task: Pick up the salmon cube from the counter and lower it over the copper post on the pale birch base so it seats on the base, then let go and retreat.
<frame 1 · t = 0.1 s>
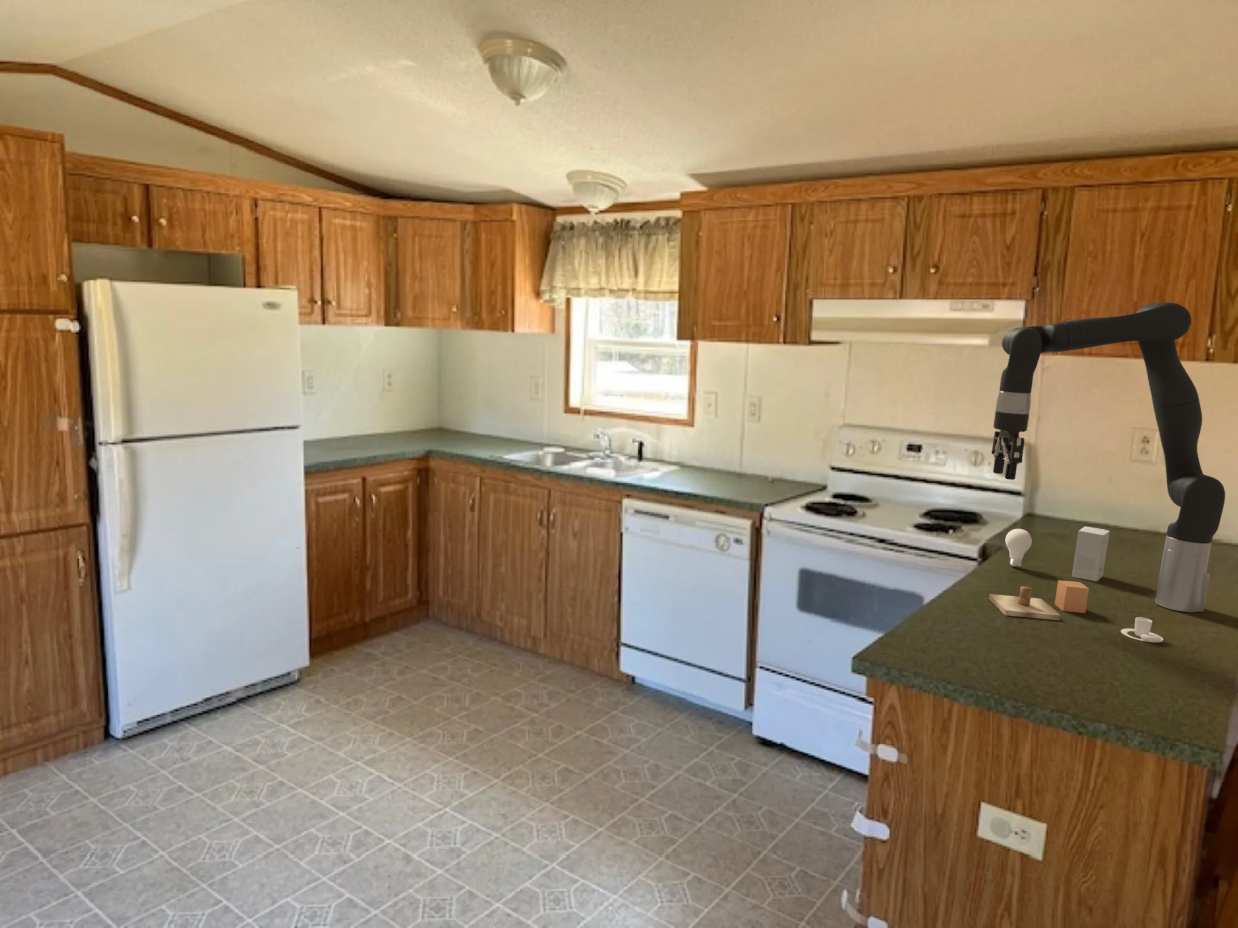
hand: (1003, 476, 206), 29 cm above the worktop, fingers open, 8 cm apart
light bulb: (1014, 567, 234), on the worktop
small box: (1086, 577, 229), on the worktop
white ring and cup: (1131, 639, 182), on the worktop
post base: (1023, 609, 197), on the worktop
salmon cube: (1069, 608, 199), on the worktop
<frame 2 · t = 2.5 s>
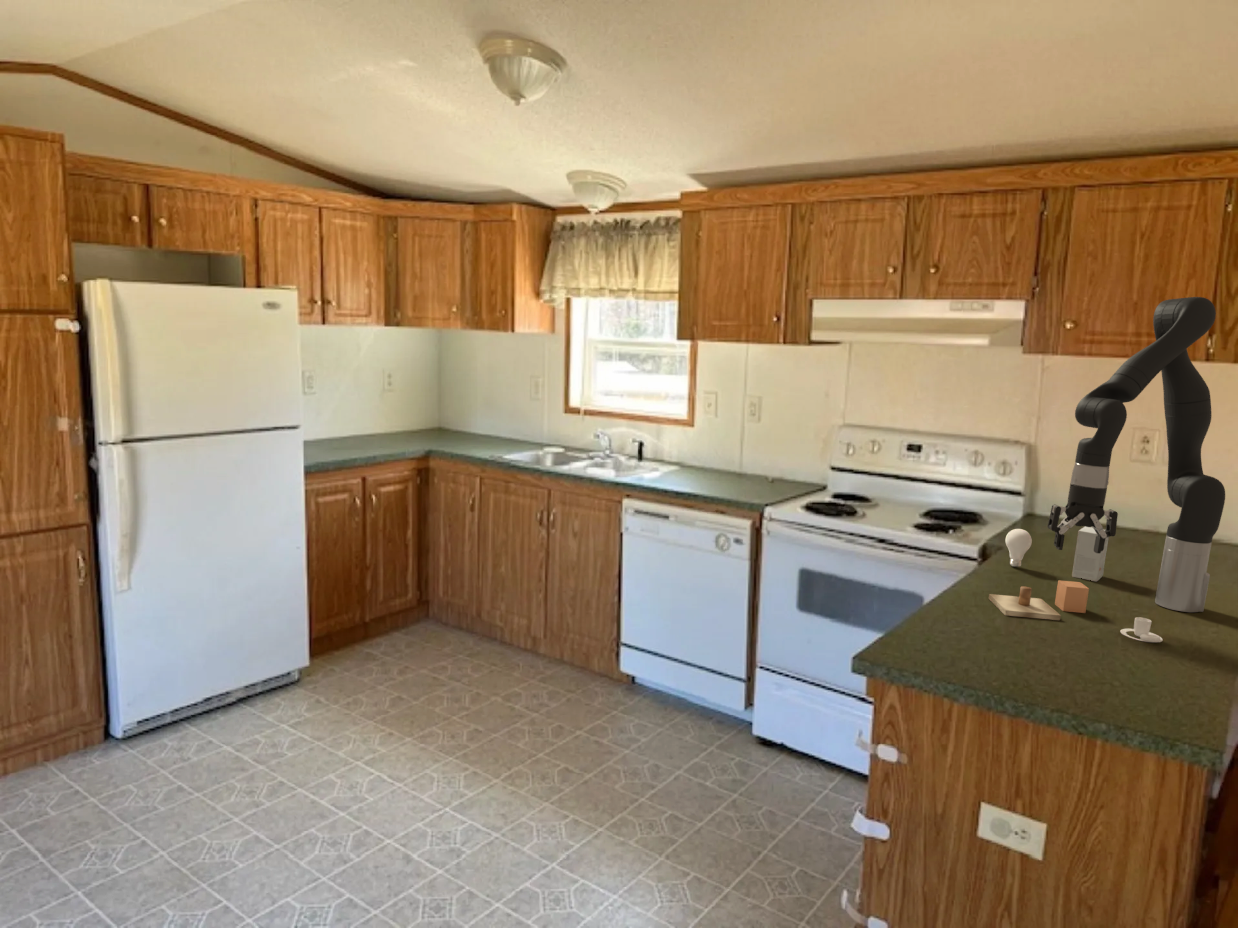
hand: (1077, 550, 197), 14 cm above the worktop, fingers open, 8 cm apart
nothing on the worktop moved.
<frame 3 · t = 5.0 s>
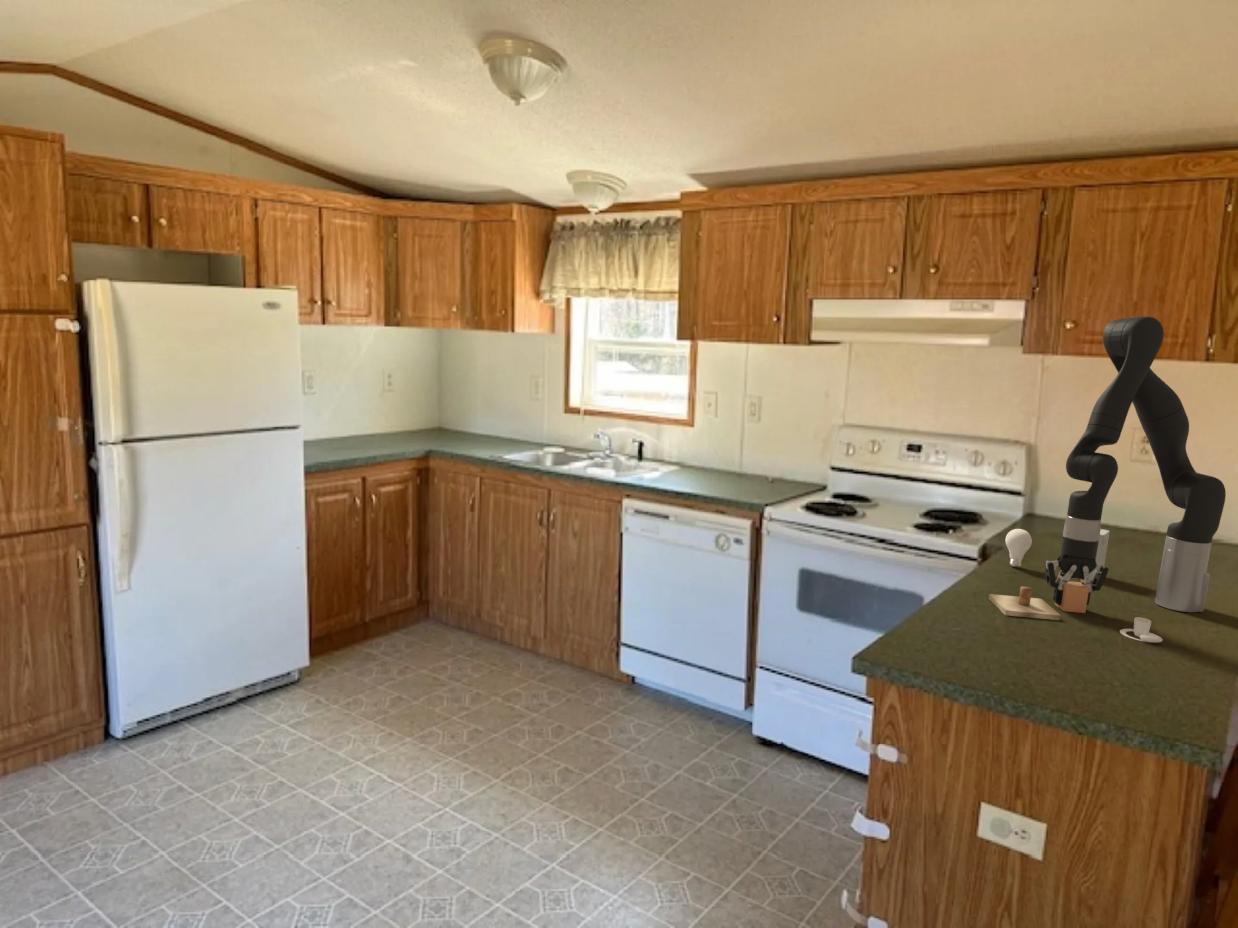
hand: (1070, 604, 199), 1 cm above the worktop, fingers closed on salmon cube, 5 cm apart
salmon cube: (1069, 608, 199), on the worktop, touching gripper
everything else where it was.
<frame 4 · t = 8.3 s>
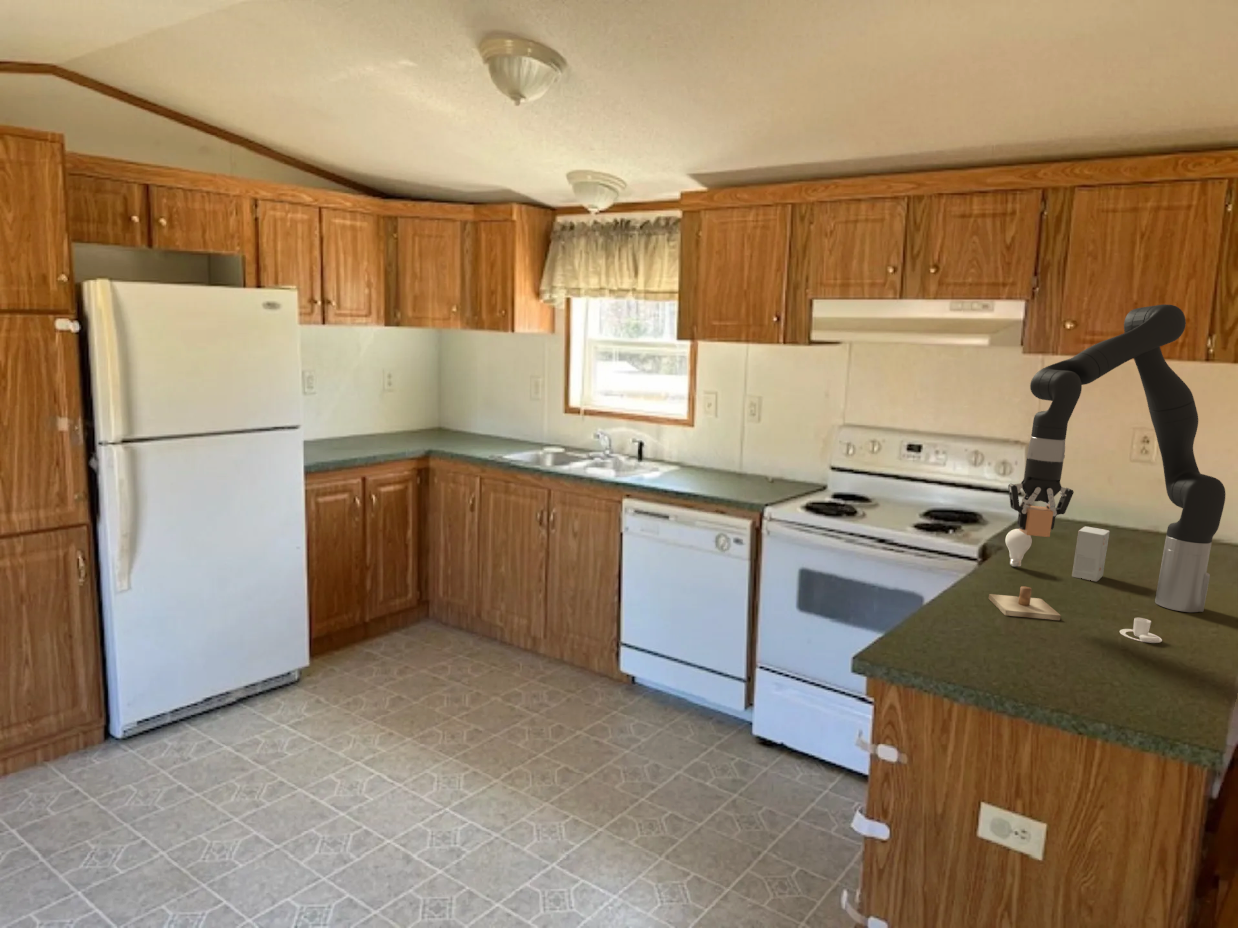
hand: (1034, 529, 193), 19 cm above the worktop, fingers closed on salmon cube, 5 cm apart
salmon cube: (1034, 533, 194), point 18 cm above the worktop, touching gripper
everything else where it was.
when the fingers open (3 cm above the worktop, at t = 12.1 s): salmon cube stays where it is, resting on post base.
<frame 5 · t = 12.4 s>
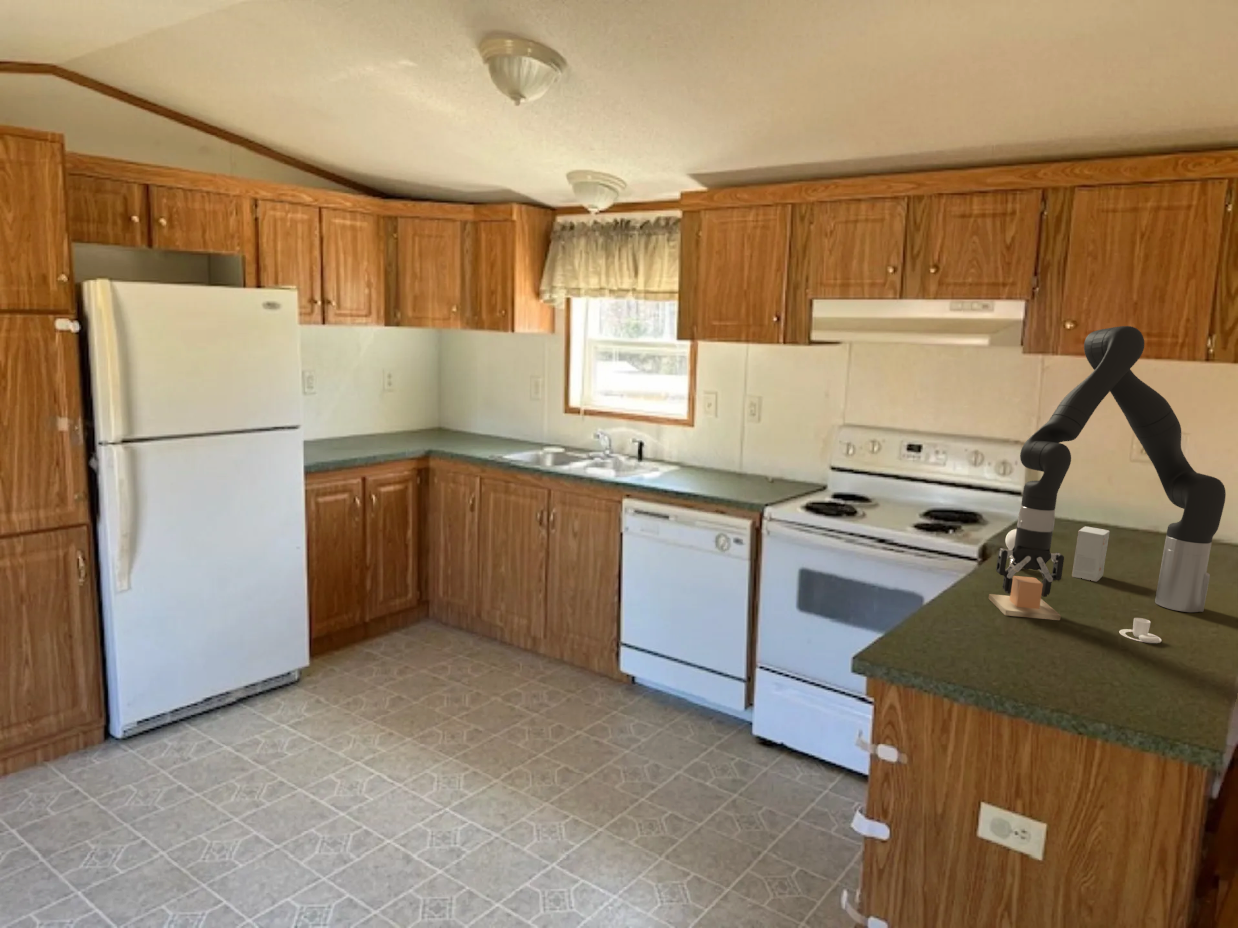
hand: (1025, 594, 196), 4 cm above the worktop, fingers open, 7 cm apart
salmon cube: (1024, 604, 196), point 1 cm above the worktop, touching post base
everything else where it was.
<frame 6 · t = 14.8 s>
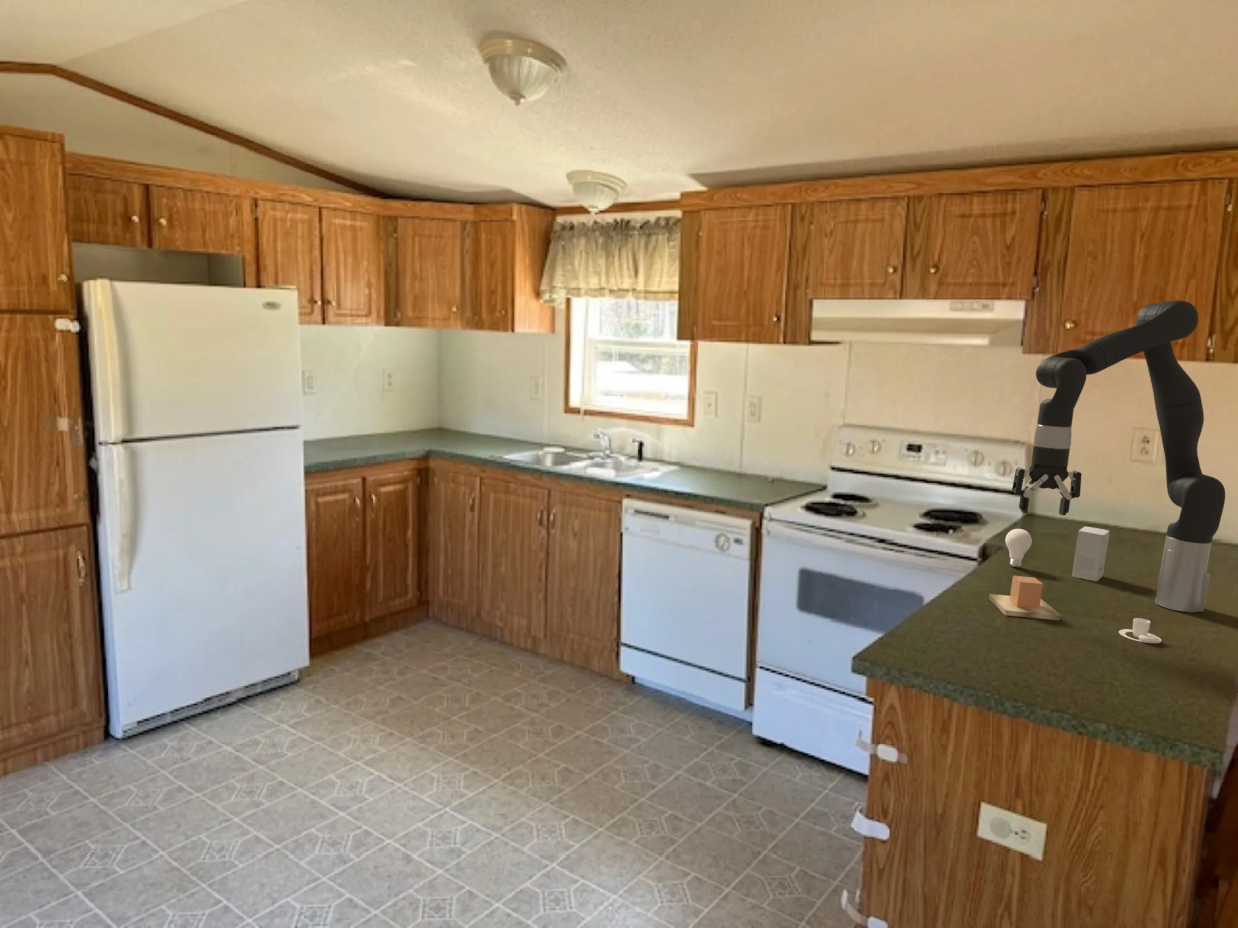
hand: (1043, 513, 195), 23 cm above the worktop, fingers open, 8 cm apart
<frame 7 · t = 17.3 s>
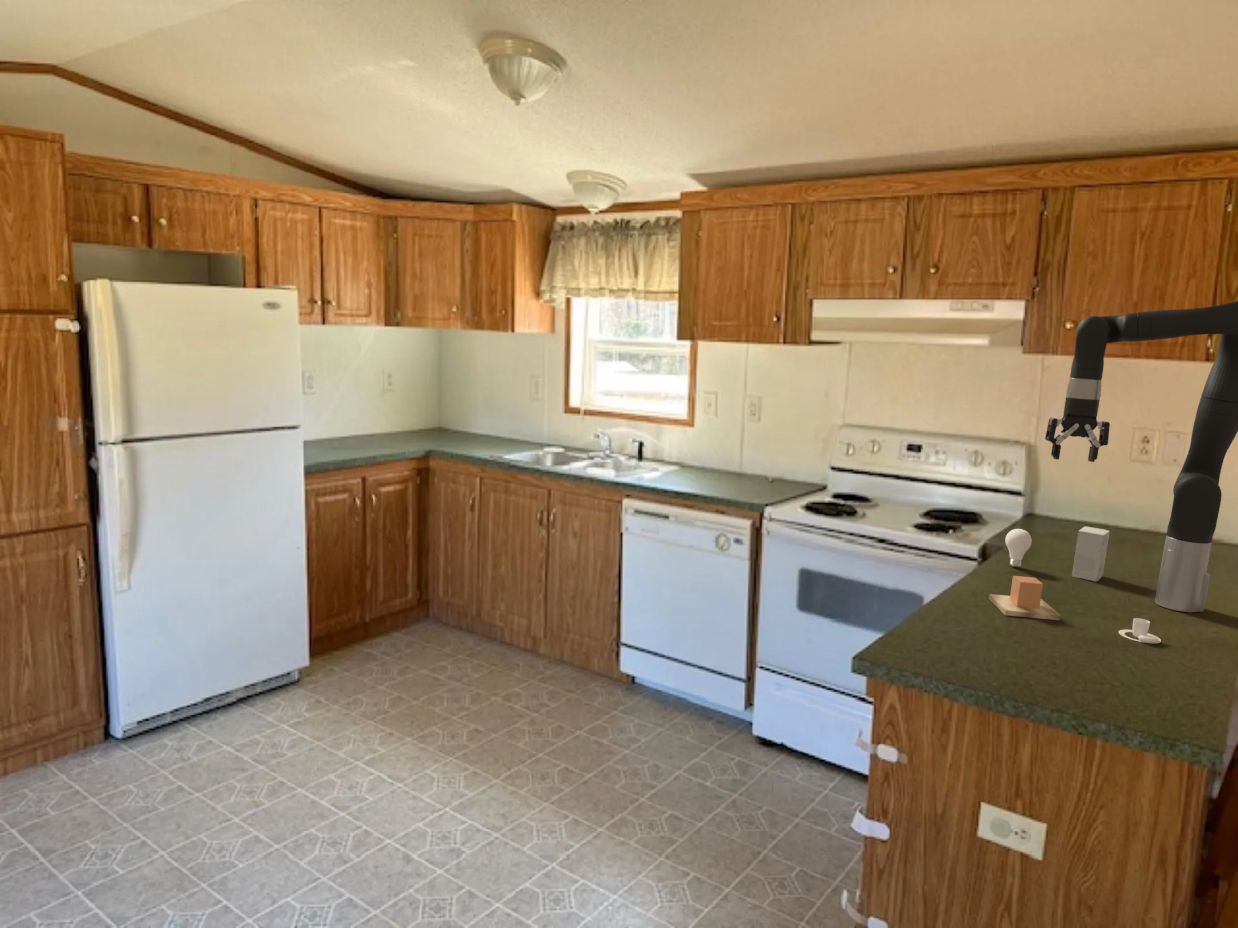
hand: (1073, 460, 213), 33 cm above the worktop, fingers open, 8 cm apart
at the end: salmon cube 0.1 cm off-centre on the post base, point 1.2 cm above the post base's base; salmon cube tilted 0°; the gripper is holding nothing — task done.
